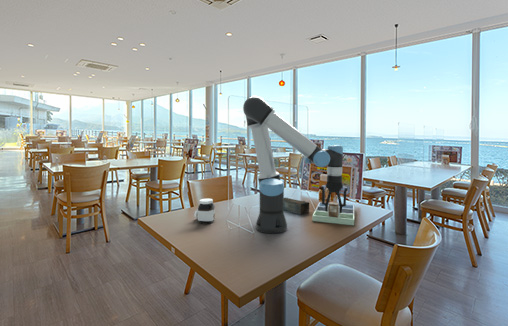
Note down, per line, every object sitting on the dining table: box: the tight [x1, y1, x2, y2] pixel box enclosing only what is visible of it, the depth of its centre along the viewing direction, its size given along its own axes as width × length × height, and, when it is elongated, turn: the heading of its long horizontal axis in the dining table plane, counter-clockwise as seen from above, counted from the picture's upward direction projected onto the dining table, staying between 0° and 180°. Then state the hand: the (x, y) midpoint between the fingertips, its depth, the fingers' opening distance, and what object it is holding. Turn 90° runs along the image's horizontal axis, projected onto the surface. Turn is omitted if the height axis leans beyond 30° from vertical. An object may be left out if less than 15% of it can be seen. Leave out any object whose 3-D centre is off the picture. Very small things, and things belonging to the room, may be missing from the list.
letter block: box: [329, 201, 339, 218], centre depth 142 cm, size 4×5×8 cm
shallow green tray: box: [314, 205, 355, 215], centre depth 152 cm, size 21×9×3 cm, turn 70°
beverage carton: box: [284, 197, 310, 215], centre depth 163 cm, size 8×19×7 cm, turn 41°
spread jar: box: [193, 197, 216, 224], centre depth 142 cm, size 12×11×12 cm
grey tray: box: [317, 201, 355, 210], centre depth 161 cm, size 21×9×3 cm, turn 70°
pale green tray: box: [312, 210, 355, 226], centre depth 143 cm, size 21×9×3 cm, turn 70°
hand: (333, 218), depth 143 cm, fingers open, 5 cm apart
